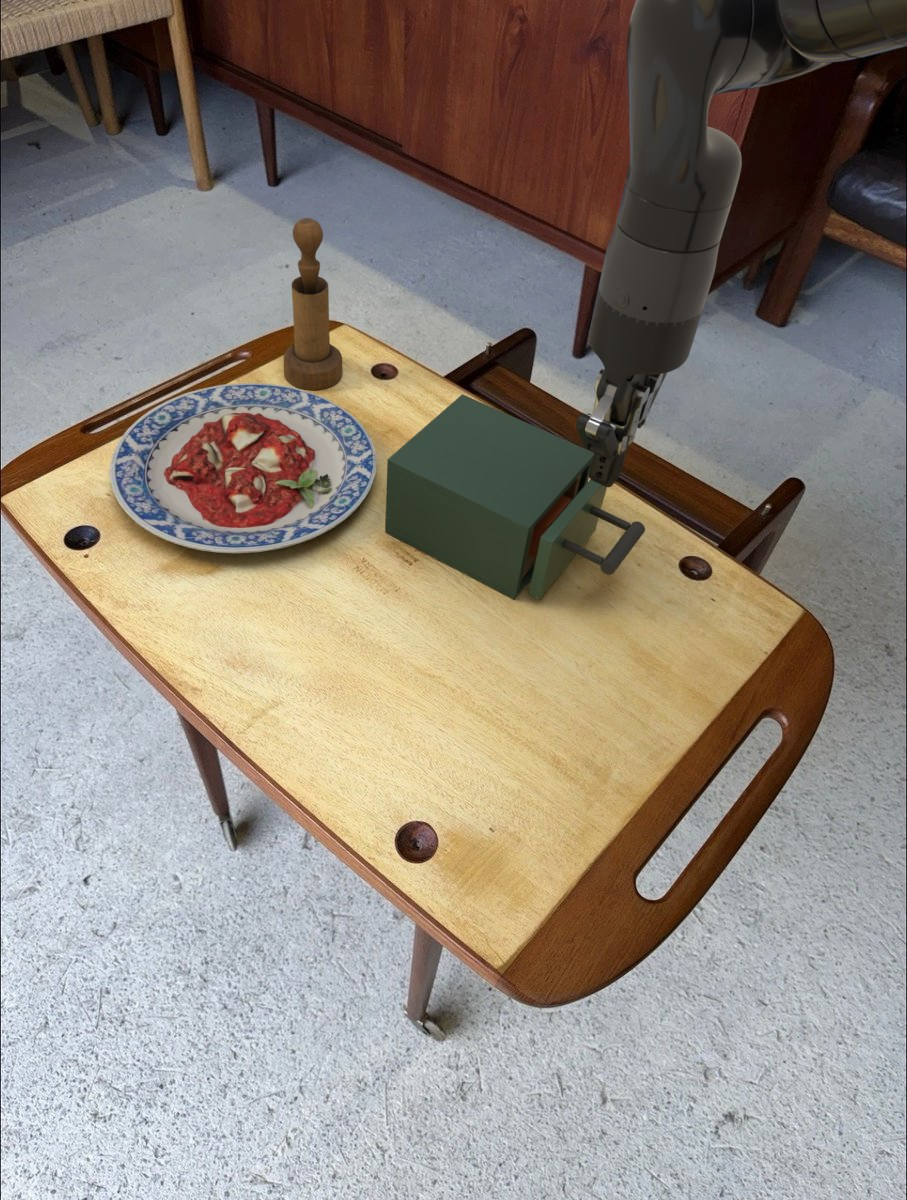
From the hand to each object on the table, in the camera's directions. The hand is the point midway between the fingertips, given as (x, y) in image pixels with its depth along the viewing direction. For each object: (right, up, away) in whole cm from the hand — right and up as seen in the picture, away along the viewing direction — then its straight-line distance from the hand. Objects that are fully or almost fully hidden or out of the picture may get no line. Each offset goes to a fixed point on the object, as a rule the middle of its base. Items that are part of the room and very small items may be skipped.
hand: (603, 479), depth 76 cm
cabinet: (-10, -3, +12) cm, 16 cm away
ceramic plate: (-33, +2, +15) cm, 37 cm away
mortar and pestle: (-29, +16, +27) cm, 43 cm away
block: (-5, -4, +9) cm, 11 cm away
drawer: (-5, -5, +10) cm, 12 cm away
